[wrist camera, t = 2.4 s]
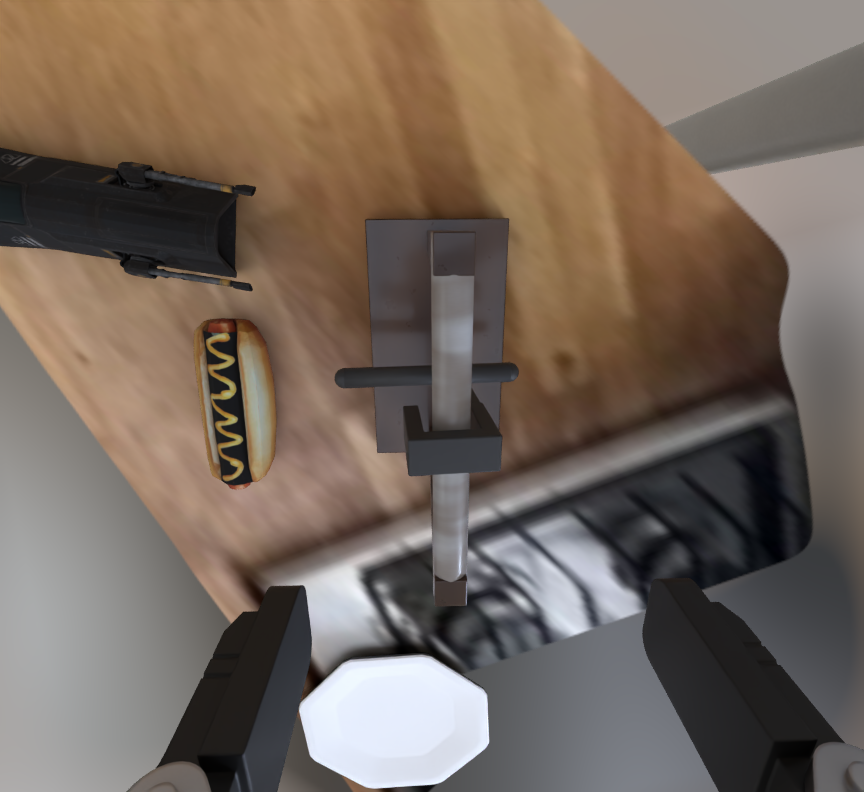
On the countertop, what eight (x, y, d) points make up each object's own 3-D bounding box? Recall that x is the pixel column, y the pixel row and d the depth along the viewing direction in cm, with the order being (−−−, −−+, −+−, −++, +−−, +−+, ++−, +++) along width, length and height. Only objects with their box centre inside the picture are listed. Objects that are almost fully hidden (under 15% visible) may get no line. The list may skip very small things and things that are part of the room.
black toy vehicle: (270, 285, 35) (232, 301, 28) (-89, 230, 33) (-241, 230, 25) (274, 189, 33) (234, 177, 25) (-111, 121, 30) (-285, 85, 23)
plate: (320, 778, 54) (318, 793, 52) (291, 652, 47) (287, 665, 46) (488, 766, 54) (490, 780, 52) (483, 638, 47) (485, 651, 46)
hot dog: (278, 310, 35) (256, 323, 31) (288, 465, 40) (271, 496, 35) (211, 308, 35) (179, 320, 30) (230, 463, 40) (204, 495, 35)
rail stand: (505, 218, 33) (600, 207, 16) (495, 443, 39) (555, 616, 22) (367, 219, 33) (306, 208, 15) (378, 445, 39) (344, 621, 22)
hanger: (516, 356, 29) (595, 430, 18) (514, 380, 29) (591, 466, 19) (334, 363, 28) (306, 445, 17) (336, 388, 28) (310, 483, 18)
